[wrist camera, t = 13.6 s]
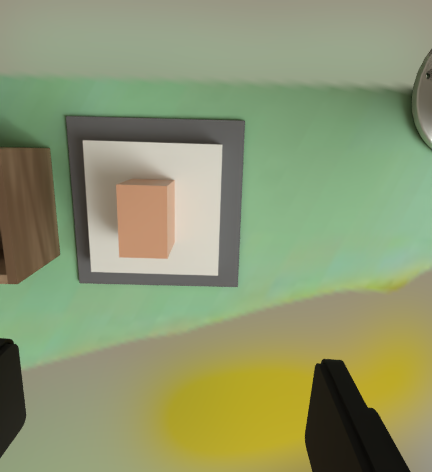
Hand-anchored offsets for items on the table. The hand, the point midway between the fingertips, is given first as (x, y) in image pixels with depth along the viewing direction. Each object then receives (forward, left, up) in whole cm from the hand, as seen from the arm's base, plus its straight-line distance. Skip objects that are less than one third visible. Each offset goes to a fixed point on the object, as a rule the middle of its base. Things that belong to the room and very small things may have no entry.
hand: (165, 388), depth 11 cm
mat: (+2, -4, -26) cm, 26 cm away
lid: (+2, -4, -25) cm, 26 cm away
